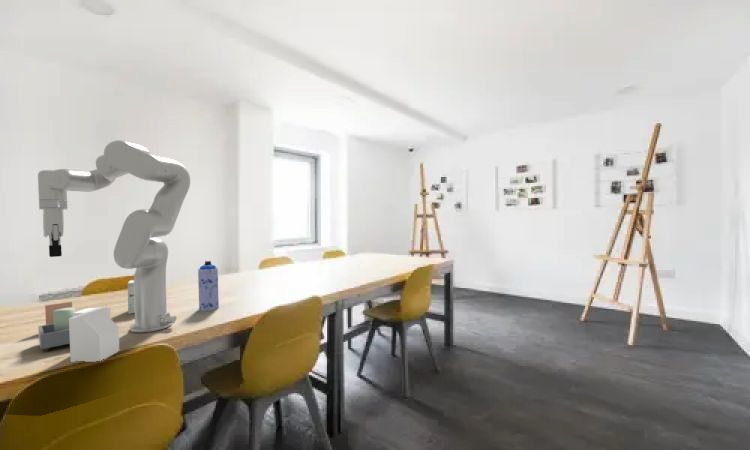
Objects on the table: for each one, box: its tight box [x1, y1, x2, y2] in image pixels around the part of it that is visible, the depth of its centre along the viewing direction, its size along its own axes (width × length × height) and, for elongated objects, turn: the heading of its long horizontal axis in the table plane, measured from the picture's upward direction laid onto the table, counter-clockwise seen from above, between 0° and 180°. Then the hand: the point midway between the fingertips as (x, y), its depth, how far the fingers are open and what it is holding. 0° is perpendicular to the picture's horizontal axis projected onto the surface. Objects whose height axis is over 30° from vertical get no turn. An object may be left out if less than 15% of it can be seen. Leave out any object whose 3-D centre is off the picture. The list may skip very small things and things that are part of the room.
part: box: [53, 306, 76, 332], centre depth 110 cm, size 5×5×8 cm
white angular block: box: [69, 307, 120, 363], centre depth 102 cm, size 11×11×12 cm
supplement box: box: [127, 279, 135, 315], centre depth 147 cm, size 7×7×13 cm
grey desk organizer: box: [37, 301, 73, 352], centre depth 115 cm, size 27×12×9 cm, turn 45°
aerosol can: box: [197, 260, 220, 312], centre depth 149 cm, size 8×8×20 cm
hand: (55, 256), depth 128 cm, fingers closed
